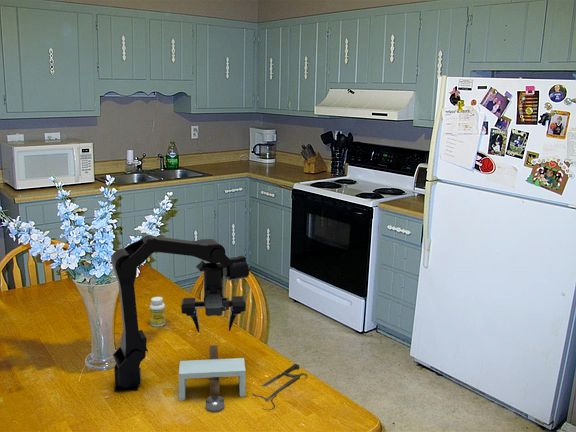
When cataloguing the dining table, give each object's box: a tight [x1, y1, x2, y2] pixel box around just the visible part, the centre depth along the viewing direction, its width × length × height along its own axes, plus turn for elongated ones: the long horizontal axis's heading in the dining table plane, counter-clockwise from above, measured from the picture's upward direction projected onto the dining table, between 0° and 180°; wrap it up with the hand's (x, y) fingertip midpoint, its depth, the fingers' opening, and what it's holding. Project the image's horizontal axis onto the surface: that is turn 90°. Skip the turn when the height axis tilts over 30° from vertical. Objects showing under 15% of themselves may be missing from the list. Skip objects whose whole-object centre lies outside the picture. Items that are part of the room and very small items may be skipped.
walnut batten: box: [208, 344, 220, 397], centre depth 161 cm, size 2×20×5 cm, turn 8°
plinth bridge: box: [178, 357, 246, 401], centre depth 153 cm, size 18×7×8 cm, turn 98°
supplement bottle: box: [149, 296, 167, 328], centre depth 194 cm, size 5×5×10 cm
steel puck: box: [205, 395, 225, 413], centre depth 146 cm, size 5×5×2 cm
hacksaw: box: [250, 363, 308, 411], centre depth 157 cm, size 24×10×2 cm, turn 140°
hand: (214, 331), depth 164 cm, fingers open, 9 cm apart
